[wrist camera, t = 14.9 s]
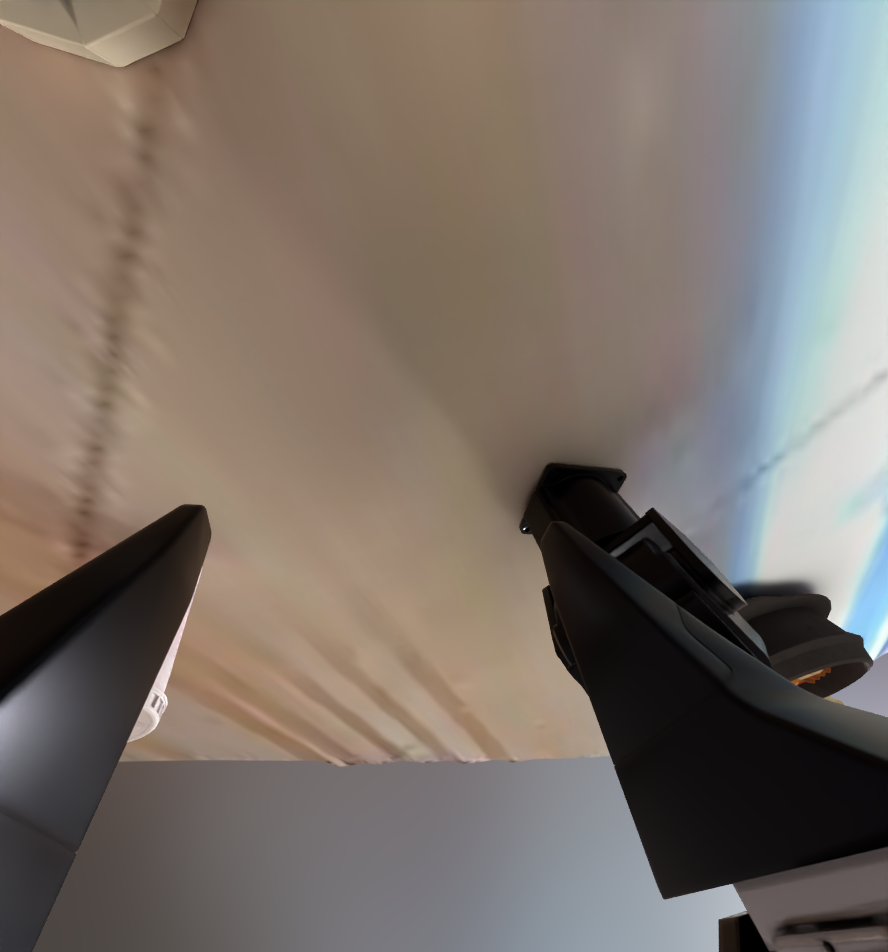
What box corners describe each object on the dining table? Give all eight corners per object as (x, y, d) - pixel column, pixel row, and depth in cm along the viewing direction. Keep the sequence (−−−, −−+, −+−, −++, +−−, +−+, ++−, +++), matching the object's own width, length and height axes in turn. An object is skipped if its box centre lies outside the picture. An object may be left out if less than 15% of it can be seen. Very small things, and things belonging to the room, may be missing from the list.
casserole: (631, 646, 45) (676, 721, 38) (767, 556, 37) (853, 631, 30) (723, 669, 56) (771, 731, 49) (843, 604, 48) (920, 666, 41)
